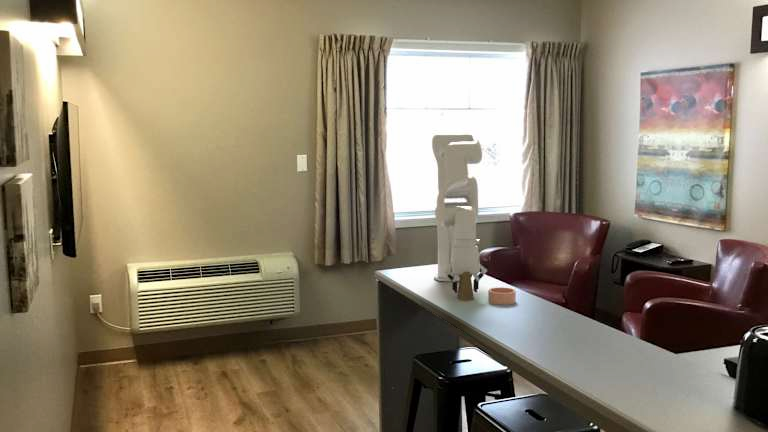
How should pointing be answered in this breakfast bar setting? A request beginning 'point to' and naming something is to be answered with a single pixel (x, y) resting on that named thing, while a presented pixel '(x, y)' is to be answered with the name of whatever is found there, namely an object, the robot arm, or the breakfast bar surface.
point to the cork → (465, 287)
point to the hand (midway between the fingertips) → (465, 291)
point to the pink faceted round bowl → (502, 296)
